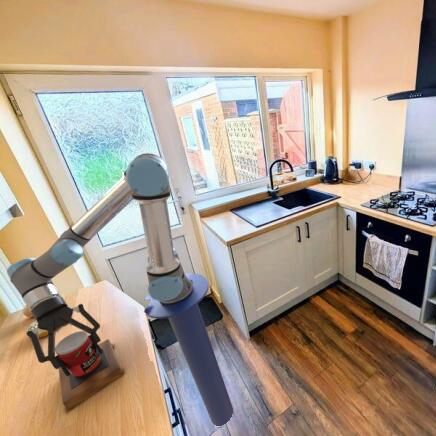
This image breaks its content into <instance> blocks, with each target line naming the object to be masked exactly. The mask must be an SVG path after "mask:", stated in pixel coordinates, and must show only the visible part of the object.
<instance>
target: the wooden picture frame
mask: <svg viewBox="0 0 436 436" xmlns="http://www.w3.org/2000/svg"><path fill="white" fill-rule="evenodd" d="M98 345H99V347H100V348H101V350H102V351H103V353H101V354H100V353H99V354H100V356H101V361H100V363H99V365H98V366H97V367H96V368H95V369H94V370H93V371H92V372H90V373H88V374H86V375H84V376H81V377H76V376H73V375H72V374H71V373H70V371H69V370H68V371H69V373H70V374H71V375H69V376H68V377H67V376H66V375H65V373H64V372H63V370H62V368H61V367H60V368H58V374H59V383H60V391H61V400H62V405H63V406H64V407H65V408H66V410H67V411H71V410H72V409H74V408H75V407H76V406H78V405H80V404H81V403H83V402H84V401H86V400H87V399H89V398H90V397H92V396H93V395H94V394H96V393H98V392H99V391H101V390H102V389H103V388H105V387H107V386H108V385H110V384H111V383H113V381H115V380H117V379H119V377H121V376H123V375H124V371H123V369H122V367H121V366H120V365H121V364H120V362H119V360H118V358H117V355H116V352H115V351H114V349H115V348H114V346H113V344H112V342H111V340H110V339H109V338H107V339H105V340H104V341H102V342H99V343H98ZM66 368H67V367H66Z"/></svg>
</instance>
